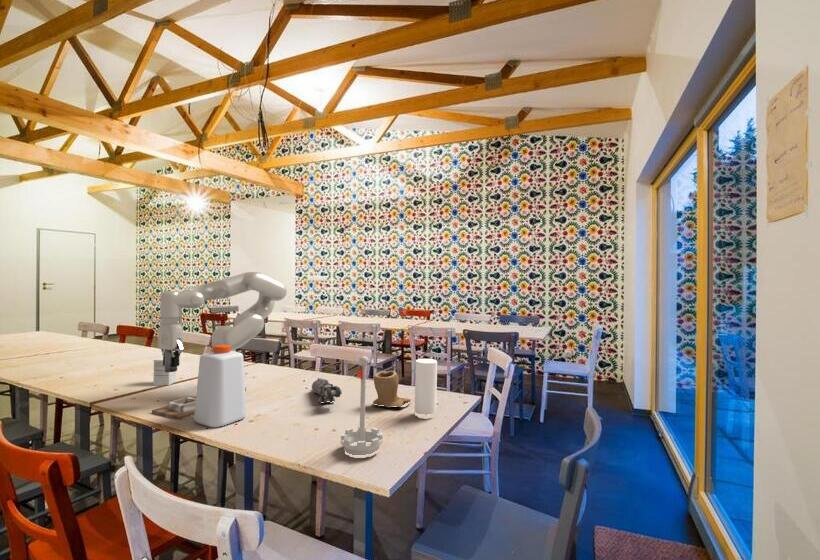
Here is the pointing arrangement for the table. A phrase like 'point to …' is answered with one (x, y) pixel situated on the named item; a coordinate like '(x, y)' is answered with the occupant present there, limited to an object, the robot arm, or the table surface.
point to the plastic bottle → (220, 388)
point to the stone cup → (388, 389)
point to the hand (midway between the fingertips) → (171, 365)
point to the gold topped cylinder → (169, 361)
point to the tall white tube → (425, 385)
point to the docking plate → (178, 408)
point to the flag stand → (361, 425)
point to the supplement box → (162, 374)
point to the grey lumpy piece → (326, 390)
